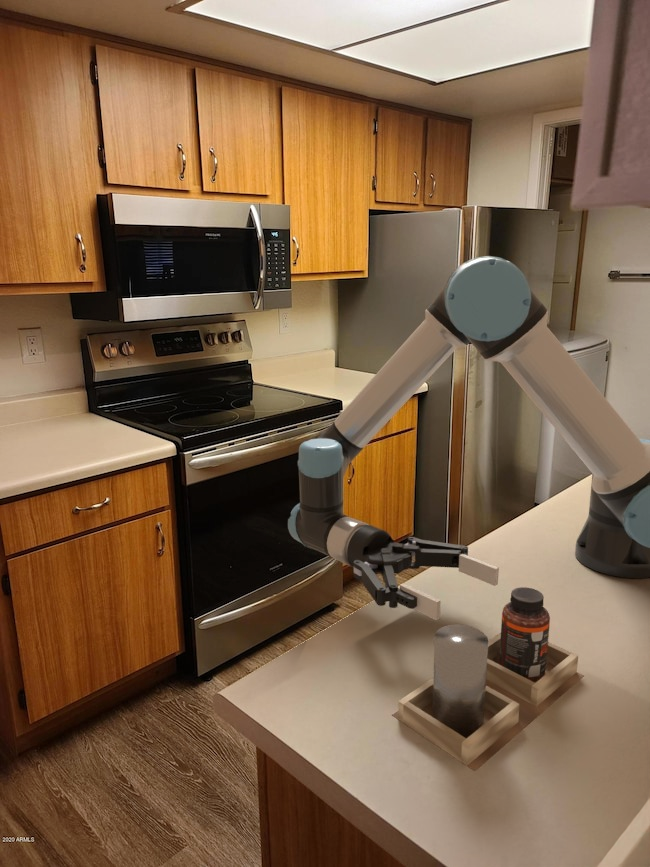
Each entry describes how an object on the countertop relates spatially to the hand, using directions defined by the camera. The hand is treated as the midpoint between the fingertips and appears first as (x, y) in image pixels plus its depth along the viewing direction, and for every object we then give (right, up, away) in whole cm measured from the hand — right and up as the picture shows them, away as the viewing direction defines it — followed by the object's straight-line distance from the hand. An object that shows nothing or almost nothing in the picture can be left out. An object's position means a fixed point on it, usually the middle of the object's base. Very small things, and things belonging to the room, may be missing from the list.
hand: (469, 592), depth 89 cm
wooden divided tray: (+1, -12, -8) cm, 14 cm away
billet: (-4, -12, -13) cm, 18 cm away
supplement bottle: (+6, -10, -4) cm, 12 cm away
